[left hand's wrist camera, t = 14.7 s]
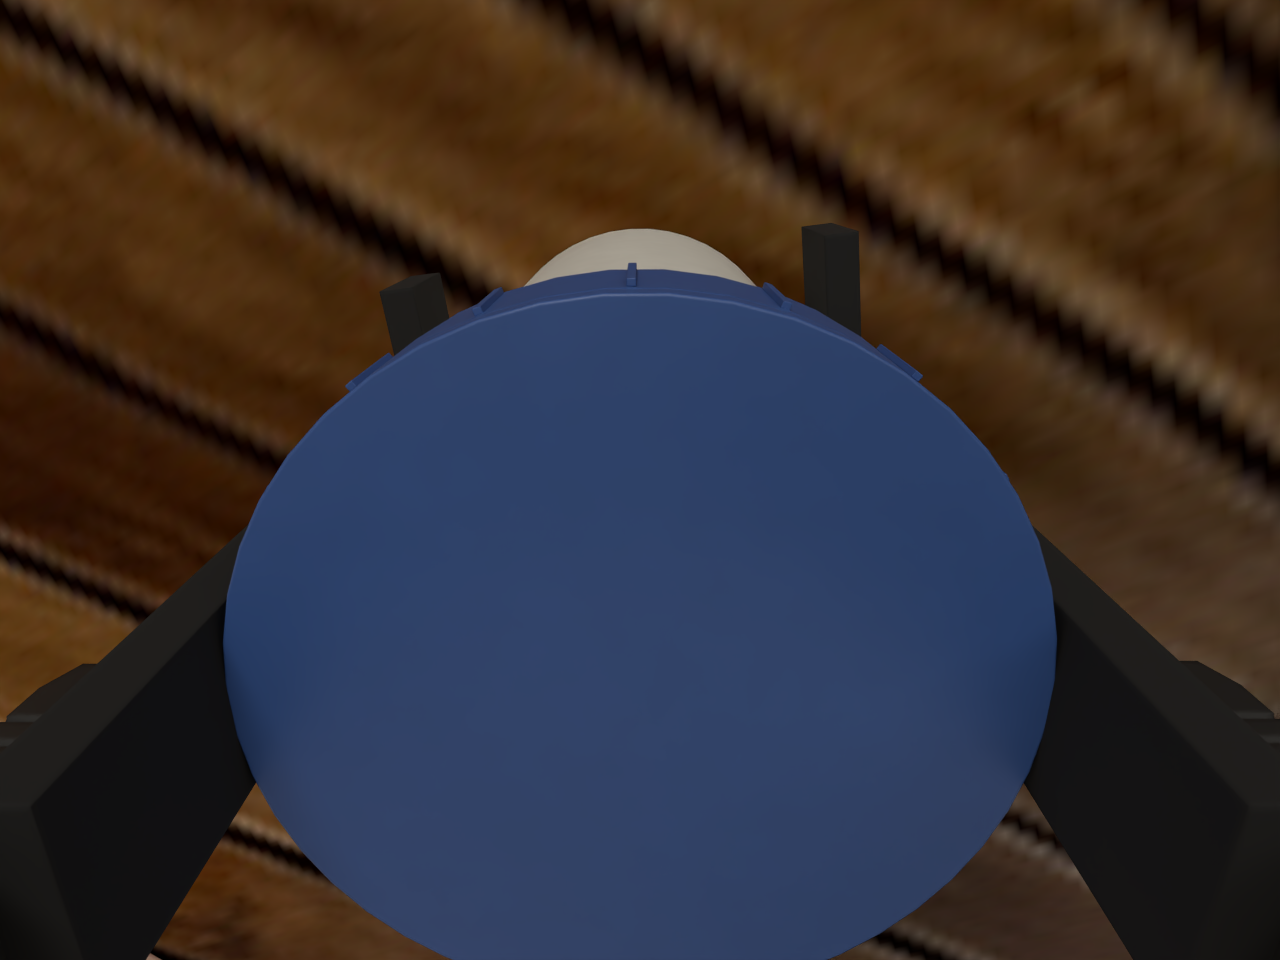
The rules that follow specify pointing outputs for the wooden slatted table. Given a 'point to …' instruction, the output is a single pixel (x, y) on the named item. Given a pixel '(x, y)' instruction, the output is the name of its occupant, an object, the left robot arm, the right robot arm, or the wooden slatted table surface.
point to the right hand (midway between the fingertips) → (617, 255)
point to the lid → (640, 630)
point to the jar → (640, 256)
